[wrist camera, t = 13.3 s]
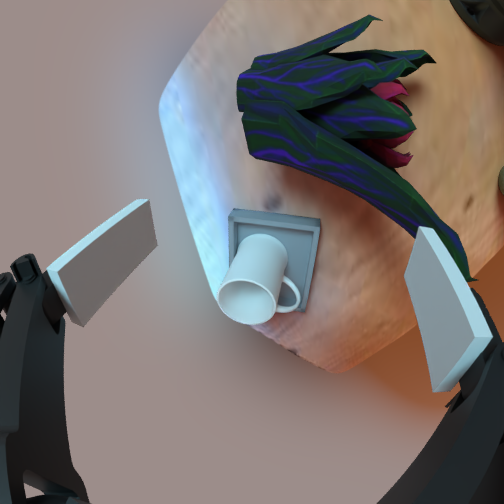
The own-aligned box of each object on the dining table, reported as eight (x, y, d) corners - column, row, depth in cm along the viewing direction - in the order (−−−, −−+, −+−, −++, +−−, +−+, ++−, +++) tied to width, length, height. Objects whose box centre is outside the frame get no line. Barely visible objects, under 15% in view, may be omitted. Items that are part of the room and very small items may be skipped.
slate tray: (320, 219, 41) (320, 227, 39) (305, 301, 50) (304, 312, 47) (233, 208, 43) (228, 215, 41) (234, 290, 52) (229, 300, 49)
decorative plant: (301, 66, 37) (475, 114, 27) (258, 210, 42) (447, 275, 31) (253, -19, 18) (526, 44, 8) (171, 192, 23) (517, 312, 12)
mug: (314, 260, 44) (311, 310, 34) (287, 293, 49) (277, 344, 39) (251, 223, 43) (230, 265, 33) (229, 261, 48) (205, 306, 38)
